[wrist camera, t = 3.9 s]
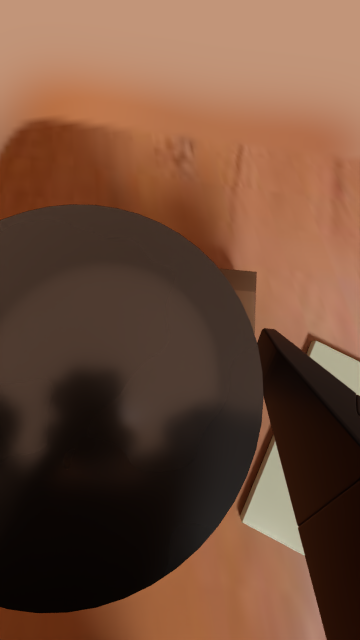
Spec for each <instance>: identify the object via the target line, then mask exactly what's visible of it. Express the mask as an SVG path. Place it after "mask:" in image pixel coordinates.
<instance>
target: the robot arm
mask: <svg viewBox="0 0 360 640" xmlns="http://www.w3.org/2000/svg"><path fill="white" fill-rule="evenodd" d="M257 345H258V349H259V355H260V361H261V366H262V375H263V396H264V400H265V403H266V407H267V411H268V415H269V419H270V423H271V427H272V430H273V434H274V438H275V442H276V446H277V450H278V453H279V457H280V461H281V465H282V469H283V473H284V477H285V480H286V484H287V488H288V492H289V496H290V500H291V503H292V507H293V511H294V515H295V519H296V523H297V526H299V527H298V531H299V535H300V539H301V543H302V546H303V550H304V554H305V558H306V562H307V566H308V569H309V573H310V577H311V581H312V585H313V589H314V593H315V596H316V600H317V604H318V608H319V612H320V616H321V619H322V623H323V627H324V631H325V635H326V638H327V640H360V396H359V395H356V393H355V392H354V391H353V390H352V389H350V388H349V387H348V386H346V385H345V384H344V383H343V382H341V381H340V380H339V379H337V378H336V377H335V376H334V375H332V374H331V373H330V372H329V371H327V370H326V369H325V368H323V367H322V366H321V365H320V364H318V363H317V362H316V361H315V360H313V359H312V358H311V357H309V356H308V355H307V354H306V353H304V352H303V351H302V350H300V349H299V348H298V347H297V346H295V345H294V344H293V343H292V342H290V341H289V340H288V339H286V338H285V337H284V336H283V335H281V334H280V333H279V332H278V331H276V330H275V329H267V328H264V329H263V330H262V331H261V334H260V337H259V340H258V342H257Z"/></svg>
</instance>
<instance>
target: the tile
mask: <svg viewBox="0 0 360 640" xmlns="http://www.w3.org/2000/svg"><path fill="white" fill-rule="evenodd" d="M307 355H308V356H309V357H311V358H312V359H313V360H315V361H316V362H317V363H318V364H320V365H321V366H322V367H323V368H325V369H326V370H327V371H329V372H330V373H331V374H332V375H334V376H335V377H336V378H337V379H339V380H340V381H341V382H343V383H344V384H345V385H346V386H348V387H349V388H350V389H352V390H353V391H354V392H355V393H356V395H359V396H360V362H359V361H357V360H355V359H353V358H351V357H349V356H347V355H344V354H342V353H340V352H338V351H336V350H334V349H332V348H330V347H328V346H326V345H324V344H322V343H320V342H318V341H312V342H311V344H310V347H309V349H308V352H307ZM240 518H241V520H242V522H243V523H245V524H246V525H248V526H250V527H252V528H254V529H256V530H258V531H260V532H261V533H263V534H265V535H267V536H269V537H271V538H273V539H274V540H276V541H278V542H280V543H282V544H284V545H286V546H288V547H289V548H291V549H293V550H295V551H297V552H299V553H301V554H303V555H304V556H305V554H304V550H303V546H302V543H301V539H300V535H299V531H298V527H299V526H297V523H296V519H295V515H294V511H293V507H292V503H291V500H290V496H289V492H288V488H287V484H286V480H285V477H284V473H283V469H282V465H281V461H280V457H279V453H278V450H277V446H276V442H275V438H274V435H273V437H272V440H271V442H270V444H269V447H268V449H267V452H266V454H265V457H264V459H263V461H262V464H261V466H260V469H259V471H258V474H257V476H256V479H255V481H254V483H253V486H252V488H251V491H250V493H249V496H248V498H247V501H246V503H245V505H244V508H243V510H242V513H241V515H240Z"/></svg>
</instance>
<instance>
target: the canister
mask: <svg viewBox="0 0 360 640" xmlns="http://www.w3.org/2000/svg"><path fill="white" fill-rule="evenodd" d="M262 409H263V375H262V366H261V361H260V355H259V349H258V345H257V341H256V338H255V335H254V332H253V328H252V325H251V322H250V320H249V318H248V316H247V313H246V311H245V309H244V307H243V304H242V302H241V300H240V299H239V297H238V295H237V294H236V292H235V291H234V289H233V287H232V286H231V284H230V282H229V281H228V280H227V278H226V277H225V276H224V275H223V273H222V272H221V271H220V270H219V269H218V267H217V266H216V265H215V264H214V262H212V261H211V260H210V259H209V258H208V257H207V256H206V255H205V254H204V253H203V252H202V251H201V250H200V249H199V248H198V247H197V246H195V245H194V244H193V243H191V242H190V241H188V240H187V239H186V238H184V237H183V236H182V235H180V234H179V233H177V232H175V231H174V230H172V229H170V228H168V227H166V226H165V225H163V224H161V223H159V222H157V221H154V220H152V219H149V218H147V217H144V216H142V215H140V214H136V213H133V212H129V211H125V210H121V209H118V208H111V207H104V206H98V205H61V206H51V207H45V208H40V209H35V210H31V211H26V212H23V213H20V214H17V215H14V216H11V217H8V218H5V219H2V220H0V607H3V608H6V609H11V610H18V611H26V612H33V613H63V612H72V611H78V610H84V609H90V608H96V607H99V606H102V605H105V604H108V603H111V602H114V601H118V600H121V599H124V598H126V597H128V596H130V595H132V594H134V593H136V592H138V591H140V590H142V589H144V588H147V587H149V586H151V585H152V584H154V583H155V582H157V581H158V580H160V579H161V578H163V577H164V576H166V575H167V574H169V573H170V572H172V571H173V570H175V569H176V568H177V567H179V566H180V565H181V564H182V563H183V562H184V561H185V560H186V559H188V558H189V557H190V556H191V555H192V554H193V553H194V552H195V551H197V550H198V549H199V548H200V547H201V545H202V544H203V543H204V542H205V541H206V540H207V538H208V537H209V536H210V535H211V534H212V533H213V532H214V530H215V529H216V528H217V527H218V526H219V524H220V523H221V521H222V520H223V518H224V517H225V515H226V514H227V512H228V511H229V509H230V507H231V506H232V504H233V503H234V501H235V499H236V497H237V495H238V493H239V491H240V489H241V487H242V485H243V483H244V481H245V479H246V477H247V474H248V471H249V468H250V465H251V463H252V460H253V457H254V454H255V451H256V447H257V442H258V437H259V432H260V428H261V422H262Z"/></svg>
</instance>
